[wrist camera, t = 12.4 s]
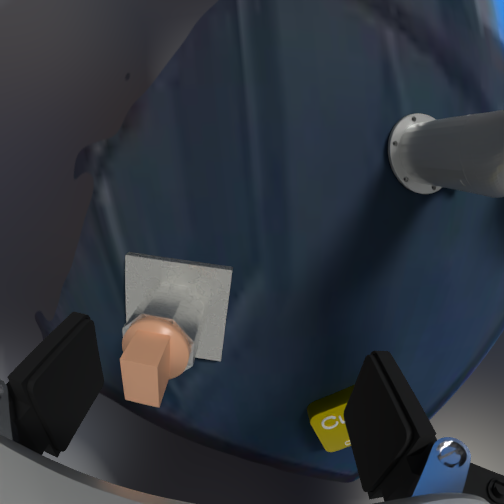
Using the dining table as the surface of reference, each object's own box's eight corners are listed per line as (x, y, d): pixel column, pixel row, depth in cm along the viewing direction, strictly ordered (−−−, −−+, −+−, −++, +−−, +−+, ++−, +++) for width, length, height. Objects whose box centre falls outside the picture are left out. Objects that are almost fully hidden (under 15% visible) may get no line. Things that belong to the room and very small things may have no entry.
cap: (195, 311, 37) (179, 361, 27) (192, 364, 39) (178, 418, 29) (132, 301, 36) (99, 344, 26) (134, 353, 39) (109, 401, 29)
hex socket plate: (232, 267, 44) (227, 300, 33) (221, 356, 49) (215, 402, 38) (129, 252, 43) (95, 278, 32) (130, 340, 48) (106, 380, 37)
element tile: (324, 440, 57) (328, 456, 52) (303, 403, 53) (307, 420, 48) (386, 415, 55) (393, 429, 50) (375, 373, 51) (384, 388, 47)
